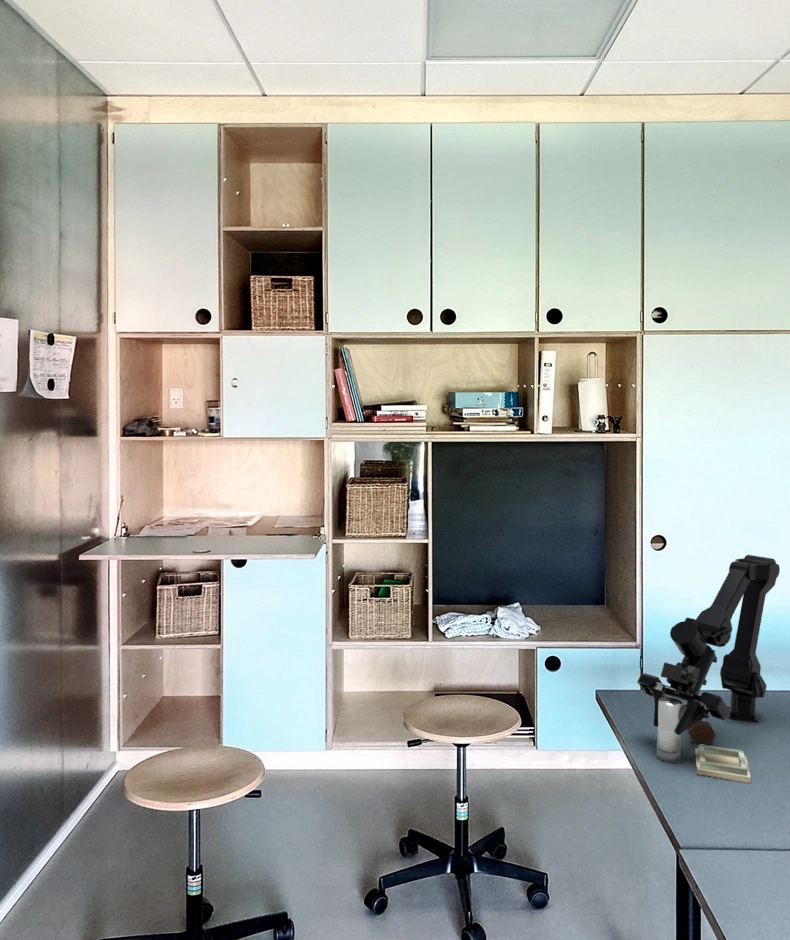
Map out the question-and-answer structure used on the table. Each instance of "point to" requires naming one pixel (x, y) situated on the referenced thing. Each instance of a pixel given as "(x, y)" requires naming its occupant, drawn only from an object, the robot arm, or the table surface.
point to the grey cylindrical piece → (669, 729)
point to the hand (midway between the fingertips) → (666, 729)
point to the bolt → (700, 731)
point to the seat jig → (722, 763)
